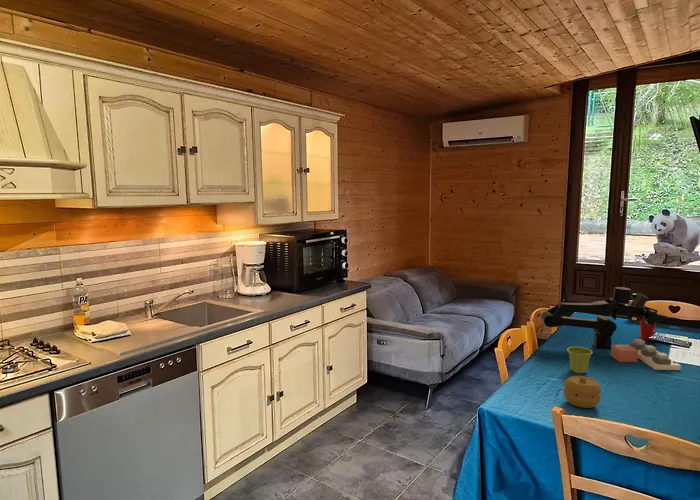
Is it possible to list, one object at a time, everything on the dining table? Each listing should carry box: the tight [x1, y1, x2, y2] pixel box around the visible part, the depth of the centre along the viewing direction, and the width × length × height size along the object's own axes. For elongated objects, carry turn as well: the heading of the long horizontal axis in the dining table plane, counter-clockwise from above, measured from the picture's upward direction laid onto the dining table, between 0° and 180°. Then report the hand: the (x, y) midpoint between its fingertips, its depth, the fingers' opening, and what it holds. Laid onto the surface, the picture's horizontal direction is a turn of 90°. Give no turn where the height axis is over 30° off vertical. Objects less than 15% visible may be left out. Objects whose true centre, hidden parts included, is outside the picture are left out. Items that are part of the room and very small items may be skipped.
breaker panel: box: [629, 341, 682, 371], centre depth 208 cm, size 10×24×4 cm, turn 176°
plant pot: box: [566, 346, 593, 374], centre depth 195 cm, size 9×9×9 cm
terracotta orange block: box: [610, 344, 639, 363], centre depth 209 cm, size 7×7×5 cm
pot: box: [562, 375, 602, 409], centre depth 166 cm, size 12×12×10 cm
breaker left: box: [632, 338, 646, 345], centre depth 217 cm, size 3×3×2 cm
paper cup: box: [639, 312, 659, 341], centre depth 236 cm, size 8×8×14 cm
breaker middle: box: [644, 345, 657, 352], centre depth 208 cm, size 3×3×2 cm
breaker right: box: [655, 352, 669, 359], centre depth 199 cm, size 3×3×2 cm
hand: (662, 314), depth 219 cm, fingers open, 9 cm apart
